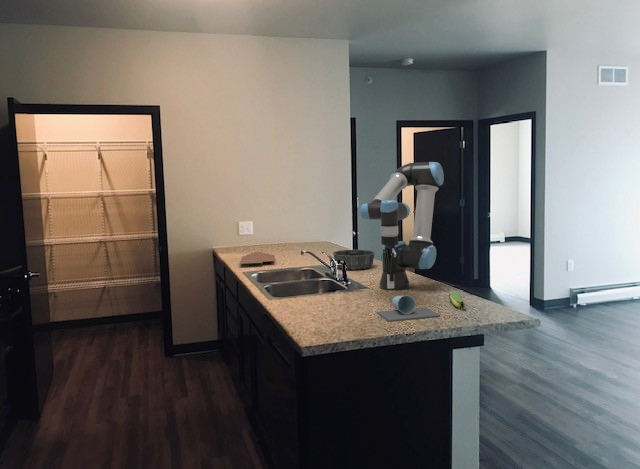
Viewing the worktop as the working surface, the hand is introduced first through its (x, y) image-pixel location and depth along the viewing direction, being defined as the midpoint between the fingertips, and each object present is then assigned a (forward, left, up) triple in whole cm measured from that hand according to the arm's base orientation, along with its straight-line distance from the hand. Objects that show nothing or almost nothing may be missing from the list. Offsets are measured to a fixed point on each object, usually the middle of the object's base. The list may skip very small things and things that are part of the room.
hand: (390, 288), depth 239 cm
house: (-139, -45, -8) cm, 146 cm away
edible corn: (+13, +25, -8) cm, 29 cm away
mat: (+21, 0, -7) cm, 22 cm away
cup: (+11, -1, -4) cm, 12 cm away
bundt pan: (-95, +11, -7) cm, 96 cm away
